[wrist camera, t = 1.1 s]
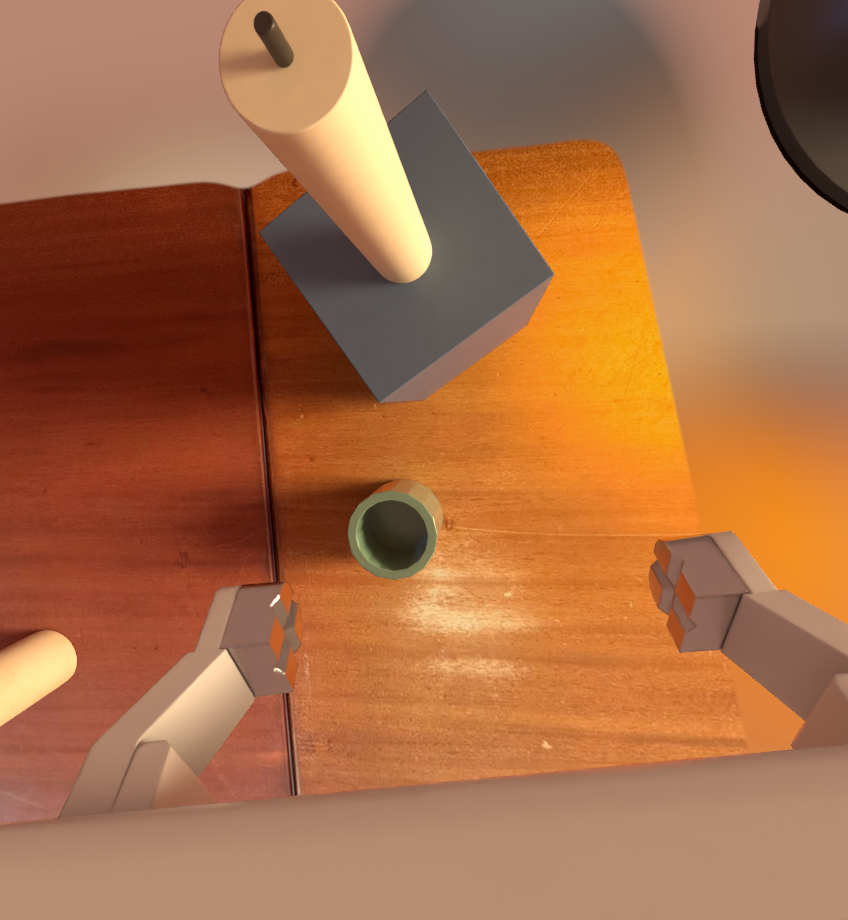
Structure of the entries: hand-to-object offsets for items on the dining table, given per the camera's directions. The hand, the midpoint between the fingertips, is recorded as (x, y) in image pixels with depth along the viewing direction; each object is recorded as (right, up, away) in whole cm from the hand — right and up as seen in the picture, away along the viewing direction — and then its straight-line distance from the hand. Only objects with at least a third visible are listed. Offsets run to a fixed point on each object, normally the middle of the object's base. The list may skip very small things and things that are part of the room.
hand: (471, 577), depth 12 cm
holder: (-3, -2, +32) cm, 32 cm away
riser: (0, +14, +29) cm, 32 cm away
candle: (-36, -16, +38) cm, 55 cm away
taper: (-2, +12, +12) cm, 18 cm away
